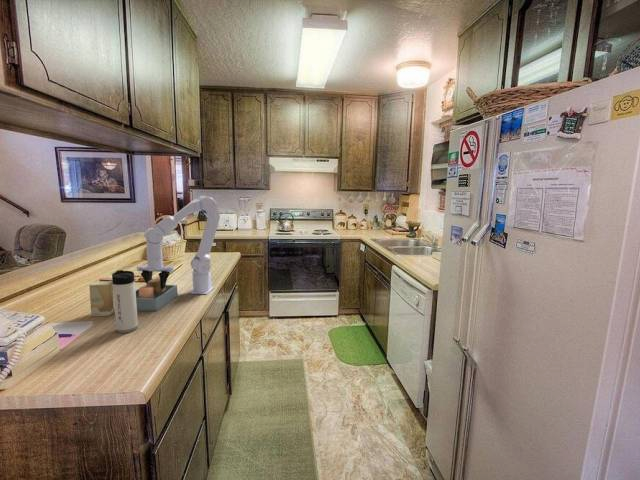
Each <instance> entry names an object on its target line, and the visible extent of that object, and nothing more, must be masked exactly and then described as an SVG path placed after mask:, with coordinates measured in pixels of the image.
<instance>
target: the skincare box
mask: <svg viewBox="0 0 640 480" xmlns="http://www.w3.org/2000/svg"><path fill="white" fill-rule="evenodd" d="M112 283H113V281H111V280H109V281H104V280H102V281H93V282H92V283H90V284H89V285H88V286H89V301H90V317H104V316H105V317H107V316H108V317H109V316H111V315H112V314H113V313H115V308H114V296H113V284H112Z"/></svg>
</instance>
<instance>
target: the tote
mask: <svg viewBox="0 0 640 480" xmlns="http://www.w3.org/2000/svg"><path fill="white" fill-rule="evenodd" d="M144 286H147V284H145V285H144ZM135 291H136V305H137V312H156V311H157V312H158V311H160V310H161V309H162V308H163V307H165V306H166V305H167V304H169V303H170V302H172V301H173V300H175V299H176V298H177V297H179V296H178V285H177V284H166V290H165V291H164V292H162V293H160V294H154V299H151V298H139V288H138V289H135ZM159 309H160V310H159Z"/></svg>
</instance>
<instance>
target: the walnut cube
mask: <svg viewBox="0 0 640 480" xmlns="http://www.w3.org/2000/svg"><path fill="white" fill-rule="evenodd" d="M146 285H147V286H153V292H154V294H160V293H162V292H164V291H165V290H166V285H167V284H166V285H165V288H163V289H161V282H160V278H152V280H150V281H148V282H147V284H146Z"/></svg>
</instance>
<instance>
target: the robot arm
mask: <svg viewBox="0 0 640 480" xmlns="http://www.w3.org/2000/svg"><path fill="white" fill-rule="evenodd" d="M218 205H219V204H218V202H217V201H216V200H215V199H214V197H211V196H205V195H201V196H200V195H199V196H198V197H197V198H194V199H192V200H191V201H190V202H189V203H188V204H186V205H185V206H184V207H182V208H181V209H179V211H177V212H176V213H175V214H174V215H173V216H171V215H167V216H164V217H162V218H161V219H162V220H160V221H158V223H156V224H153V225H152V227H149V228H147V229H146V230H145V232H144V235H143V236H144V238H145V240H146V241H145V242H146V247H145V248H146V262H147V263H146V265H138V266H136V271H137V272H141V273H140V276H141V277H142V278H143V280H144V281H145V285H147V282H148V281H150V280H152V279H153V273H154V272H156V273H157V272H159V273H158V276H159V277H158V278H159V279H160V282H161V289H163V288H165V285H167V281H168V278H169V275H170V274H171V273H173V272H175V269H174V266H168V265H163V263H164V262H163V261H164V260H163V259H164V258H163V245H162V241H163V238H164V237H166V236H167V235H168V234H170V233H171V232H172V231H173V230H175V229H176V228H177V227H178V226H179V225H178V224H179V222H180V221H182V220H184V219H185V218H187V217H188V216H190V215H191V214H193V213H196V212H202V213H203V214H204V215H205V217H206V222H205V225H204V229H203V233H202V237H201V239H200V244H199V247H198V250H197V252H195V254H194V257H193V258H192V260H191V262H190V266H191V268H192V269H193V270H192V275H191V276H192V290H191V291H190V292H189V294H193V295H207V294H209V293H210V292H211V291H212V290H213V289H215V288H214V286H213V279H212V273H211V272H210V270H211V260H212V259H211V250H212V247H213V244H214V239H215V237H216V233H217V229H218V226H219V222H220V220H221V219H220V218H221V216H220V213H219V212H220V211H219V209H218Z"/></svg>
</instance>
